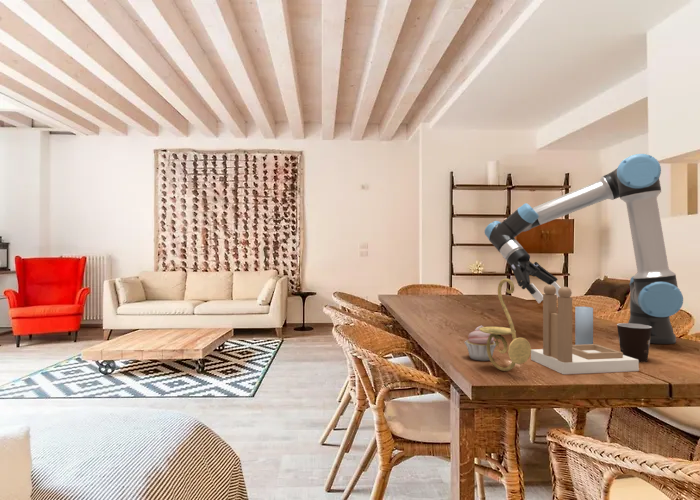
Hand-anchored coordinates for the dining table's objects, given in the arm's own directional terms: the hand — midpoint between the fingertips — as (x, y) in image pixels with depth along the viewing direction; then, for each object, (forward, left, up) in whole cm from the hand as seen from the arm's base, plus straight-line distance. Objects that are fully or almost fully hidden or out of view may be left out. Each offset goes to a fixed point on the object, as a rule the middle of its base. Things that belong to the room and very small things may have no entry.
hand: (553, 299), depth 144 cm
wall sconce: (+33, +26, -16) cm, 45 cm away
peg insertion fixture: (+8, +24, -16) cm, 30 cm away
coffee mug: (-13, +20, -16) cm, 29 cm away
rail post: (-4, +9, -16) cm, 19 cm away
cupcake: (+33, +13, -16) cm, 39 cm away
